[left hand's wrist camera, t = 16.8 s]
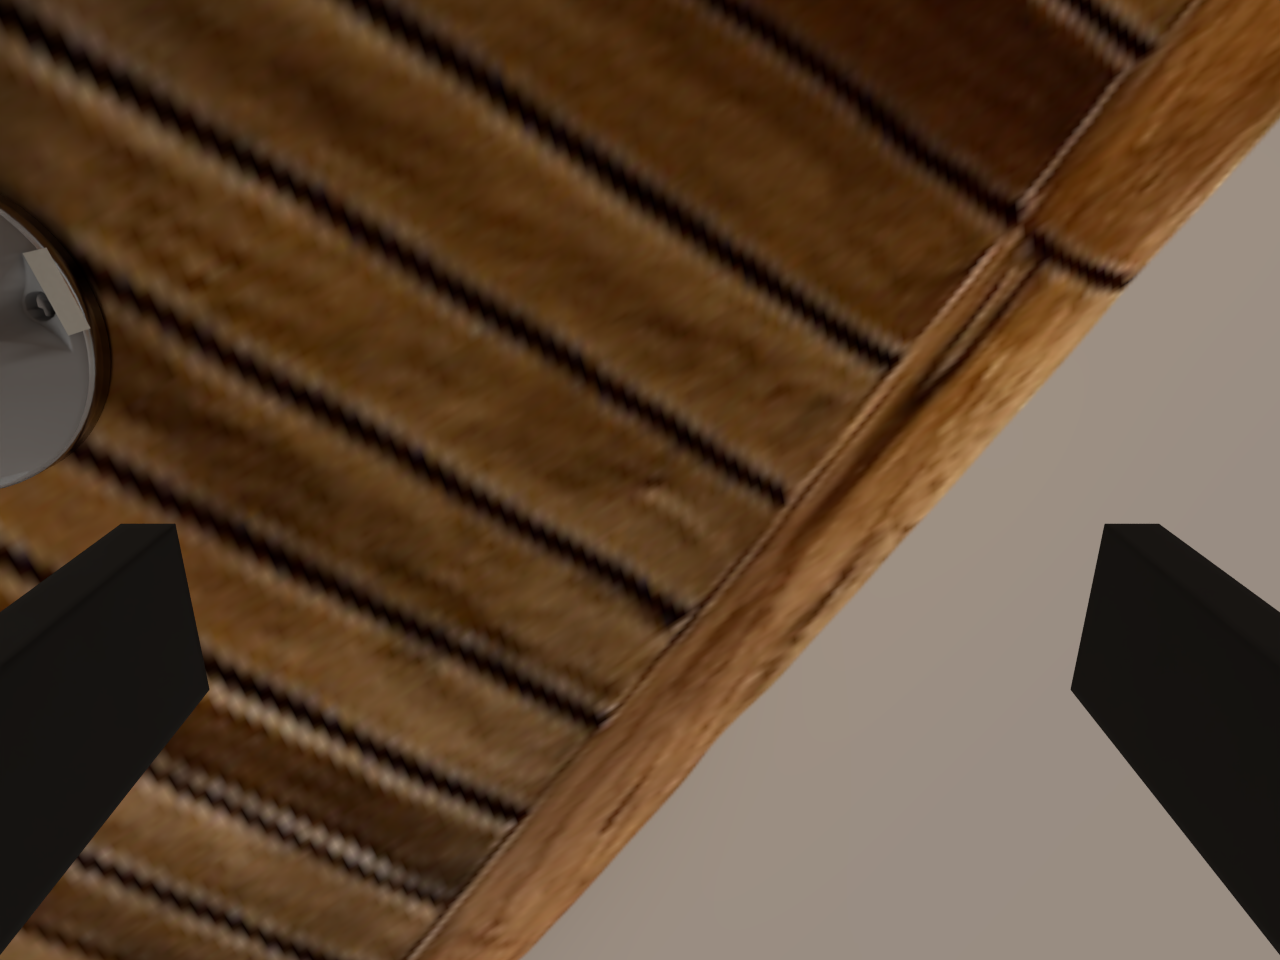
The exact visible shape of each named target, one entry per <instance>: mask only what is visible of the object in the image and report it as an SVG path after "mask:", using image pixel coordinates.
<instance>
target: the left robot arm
mask: <svg viewBox="0 0 1280 960" xmlns="http://www.w3.org/2000/svg"><path fill="white" fill-rule="evenodd" d="M110 370H111V363H110V348H109V341H108V335H107V331H106V327H105V323H104V320H103V317H102V314H101V311H100V308H99V305H98V303H97V301H96V298H95V296H94V294H93V291H92V290H91V288H90V286H89V284H88V282H87V280H86V278H85V277H84V275H83V273H82V272H81V270H80V269H79V267H78V266H77V264H76V263H75V261H74V260H73V259H72V257H71V256H70V255H69V253H68V252H67V251H66V249H65V248H64V247H63V246H62V245H61V244H60V243H59V241H58V240H57V239H56V238H55V237H54V236H53V235H52V234H51V233H50V232H49V231H48V230H47V229H46V228H45V227H44V226H43V225H42V224H41V223H40V222H39V221H38V220H36V219H35V218H34V217H33V216H31V215H30V214H29V213H28V212H27V211H25V210H24V209H23V208H21V207H20V206H18V205H17V204H15V203H14V202H12V201H11V200H10V199H8V198H6V197H5V196H3V195H1V194H0V488H4V487H8V486H11V485H14V484H17V483H20V482H22V481H24V480H27V479H29V478H31V477H33V476H35V475H37V474H39V473H40V472H42V471H44V470H46V469H48V468H49V467H51V466H53V465H55V464H56V463H58V462H60V461H61V460H63V459H65V458H66V457H67V456H68V455H70V454H71V453H72V452H74V451H75V450H76V449H77V448H78V447H79V446H80V445H81V444H82V443H83V442H84V440H85V439H86V438H87V437H88V435H89V434H90V433H91V431H92V430H93V428H94V426H95V425H96V423H97V421H98V419H99V417H100V415H101V412H102V410H103V408H104V404H105V401H106V398H107V394H108V388H109V383H110ZM208 691H209V685H208V680H207V676H206V671H205V666H204V661H203V656H202V651H201V646H200V642H199V637H198V632H197V627H196V622H195V617H194V612H193V607H192V603H191V598H190V593H189V588H188V583H187V578H186V573H185V569H184V564H183V559H182V554H181V549H180V544H179V539H178V534H177V530H176V525H175V524H120V525H119V526H117V527H116V528H115V529H113V530H112V531H111V532H109V533H108V534H107V535H105V536H104V537H102V538H101V539H100V540H98V541H97V542H96V543H94V544H93V545H92V546H90V547H89V548H87V549H86V550H85V551H83V552H82V553H81V554H79V555H78V556H76V557H75V558H74V559H72V560H71V561H70V562H68V563H67V564H66V565H64V566H63V567H61V568H60V569H59V570H57V571H56V572H55V573H53V574H52V575H51V576H49V577H48V578H46V579H45V580H44V581H42V582H41V583H40V584H38V585H37V586H36V587H34V588H33V589H31V590H30V591H29V592H27V593H26V594H25V595H23V596H22V597H20V598H19V599H18V600H16V601H15V602H14V603H12V604H11V605H10V606H8V607H7V608H5V609H4V610H3V611H1V612H0V954H1V953H2V952H3V951H4V949H5V948H6V947H7V946H8V944H9V943H10V942H11V940H12V939H13V938H14V937H15V935H16V934H17V933H18V932H19V930H20V929H21V928H22V927H23V925H24V924H25V923H26V921H27V920H28V919H29V918H30V916H31V915H32V914H33V913H34V911H35V910H36V909H37V907H38V906H39V905H40V904H41V902H42V901H43V900H44V899H45V897H46V896H47V895H48V894H49V892H50V891H51V890H52V888H53V887H54V886H55V885H56V883H57V882H58V881H59V880H60V878H61V877H62V876H63V875H64V873H65V872H66V871H67V869H68V868H69V867H70V866H71V864H72V863H73V862H74V861H75V859H76V858H77V857H78V856H79V854H80V853H81V852H82V850H83V849H84V848H85V847H86V845H87V844H88V843H89V842H90V840H91V839H92V838H93V837H94V835H95V834H96V833H97V831H98V830H99V829H100V828H101V826H102V825H103V824H104V823H105V821H106V820H107V819H108V818H109V816H110V815H111V814H112V812H113V811H114V810H115V809H116V807H117V806H118V805H119V804H120V802H121V801H122V800H123V798H124V797H125V796H126V795H127V793H128V792H129V791H130V790H131V788H132V787H133V786H134V785H135V783H136V782H137V781H138V779H139V778H140V777H141V776H142V774H143V773H144V772H145V771H146V769H147V768H148V767H149V766H150V764H151V763H152V762H153V760H154V759H155V758H156V757H157V755H158V754H159V753H160V752H161V750H162V749H163V748H164V747H165V745H166V744H167V743H168V741H169V740H170V739H171V738H172V736H173V735H174V734H175V733H176V731H177V730H178V729H179V728H180V726H181V725H182V724H183V722H184V721H185V720H186V719H187V717H188V716H189V715H190V714H191V712H192V711H193V710H194V708H195V707H196V706H197V705H198V703H199V702H200V701H201V700H202V698H203V697H204V696H205V695H206V693H207V692H208ZM1071 691H1072V692H1073V693H1074V695H1075V696H1076V697H1077V698H1078V699H1079V701H1080V702H1081V703H1082V705H1083V706H1084V707H1085V708H1086V710H1087V711H1088V712H1089V714H1090V715H1091V716H1092V717H1093V719H1094V720H1095V721H1096V722H1097V724H1098V725H1099V726H1100V727H1101V729H1102V730H1103V731H1104V733H1105V734H1106V735H1107V736H1108V738H1109V739H1110V740H1111V741H1112V743H1113V744H1114V745H1115V746H1116V748H1117V749H1118V750H1119V751H1120V753H1121V754H1122V755H1123V757H1124V758H1125V759H1126V760H1127V762H1128V763H1129V764H1130V766H1131V767H1132V768H1133V769H1134V771H1135V772H1136V773H1137V774H1138V776H1139V777H1140V778H1141V779H1142V781H1143V782H1144V783H1145V784H1146V786H1147V787H1148V788H1149V790H1150V791H1151V792H1152V793H1153V795H1154V796H1155V797H1156V798H1157V800H1158V801H1159V802H1160V804H1161V805H1162V806H1163V807H1164V809H1165V810H1166V811H1167V812H1168V814H1169V815H1170V816H1171V818H1172V819H1173V820H1174V821H1175V823H1176V824H1177V825H1178V826H1179V828H1180V829H1181V830H1182V831H1183V833H1184V834H1185V835H1186V837H1187V838H1188V839H1189V840H1190V842H1191V843H1192V844H1193V845H1194V847H1195V848H1196V849H1197V850H1198V852H1199V853H1200V854H1201V856H1202V857H1203V858H1204V859H1205V861H1206V862H1207V863H1208V864H1209V866H1210V867H1211V868H1212V869H1213V871H1214V872H1215V873H1216V875H1217V876H1218V877H1219V878H1220V880H1221V881H1222V882H1223V883H1224V885H1225V886H1226V887H1227V888H1228V890H1229V891H1230V892H1231V894H1232V895H1233V896H1234V897H1235V899H1236V900H1237V901H1238V902H1239V904H1240V905H1241V906H1242V907H1243V909H1244V910H1245V911H1246V913H1247V914H1248V915H1249V916H1250V918H1251V919H1252V920H1253V921H1254V923H1255V924H1256V925H1257V926H1258V928H1259V929H1260V930H1261V932H1262V933H1263V934H1264V935H1265V937H1266V938H1267V939H1268V940H1269V942H1270V943H1271V944H1272V946H1273V947H1274V948H1275V949H1276V951H1277V952H1278V953H1279V954H1280V612H1279V611H1277V610H1276V609H1275V608H1273V607H1272V606H1270V605H1269V604H1268V603H1266V602H1265V601H1264V600H1262V599H1261V598H1260V597H1258V596H1257V595H1255V594H1254V593H1253V592H1251V591H1250V590H1249V589H1247V588H1246V587H1244V586H1243V585H1242V584H1240V583H1239V582H1238V581H1236V580H1235V579H1234V578H1232V577H1231V576H1229V575H1228V574H1227V573H1225V572H1224V571H1223V570H1221V569H1220V568H1219V567H1217V566H1216V565H1214V564H1213V563H1212V562H1210V561H1209V560H1208V559H1206V558H1205V557H1204V556H1202V555H1201V554H1199V553H1198V552H1197V551H1195V550H1194V549H1193V548H1191V547H1190V546H1188V545H1187V544H1186V543H1184V542H1183V541H1182V540H1180V539H1179V538H1178V537H1176V536H1175V535H1173V534H1172V533H1171V532H1169V531H1168V530H1167V529H1165V528H1164V527H1162V526H1161V525H1160V524H1105V525H1104V530H1103V534H1102V539H1101V544H1100V549H1099V554H1098V559H1097V564H1096V569H1095V573H1094V578H1093V583H1092V588H1091V593H1090V598H1089V603H1088V608H1087V612H1086V617H1085V622H1084V627H1083V632H1082V637H1081V642H1080V646H1079V651H1078V656H1077V661H1076V666H1075V671H1074V676H1073V680H1072V685H1071Z"/></svg>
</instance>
